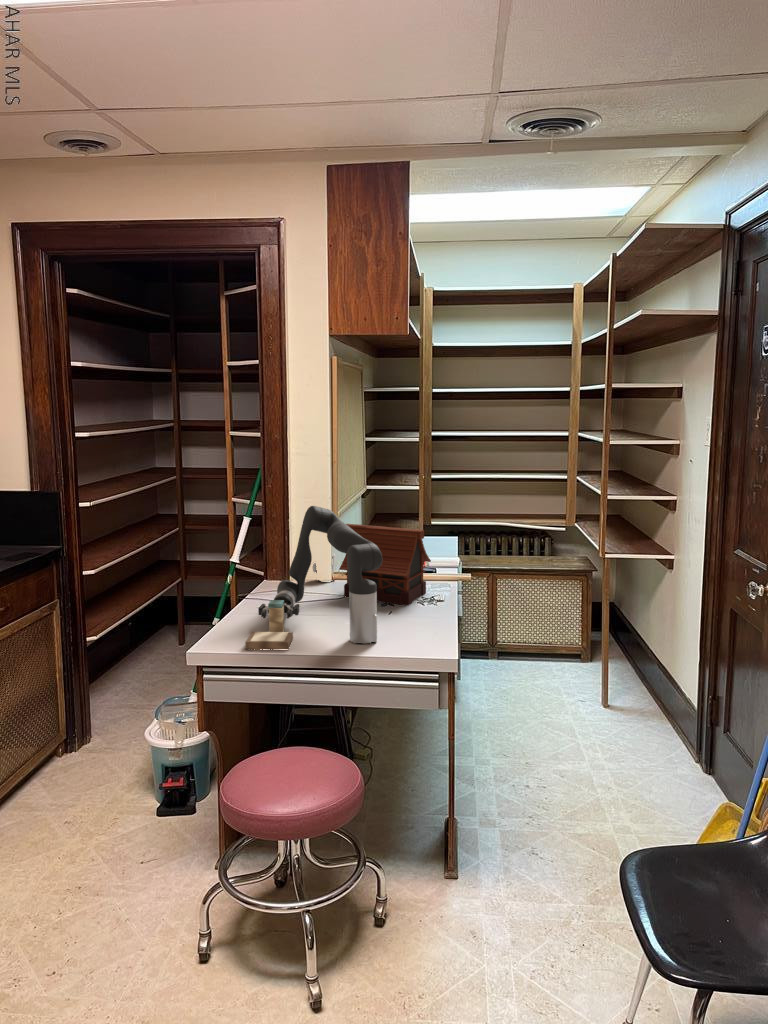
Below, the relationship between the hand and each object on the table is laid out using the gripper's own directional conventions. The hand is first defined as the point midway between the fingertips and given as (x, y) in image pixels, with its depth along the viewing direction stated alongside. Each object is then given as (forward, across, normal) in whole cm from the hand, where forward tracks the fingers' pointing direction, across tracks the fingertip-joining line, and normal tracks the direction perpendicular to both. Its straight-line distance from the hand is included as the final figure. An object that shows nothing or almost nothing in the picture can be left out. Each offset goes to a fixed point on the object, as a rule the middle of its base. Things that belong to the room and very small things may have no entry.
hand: (275, 615), depth 253 cm
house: (-51, +36, +7) cm, 63 cm away
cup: (-74, +9, +7) cm, 75 cm away
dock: (+12, 0, +6) cm, 13 cm away
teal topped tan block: (-2, 0, +6) cm, 7 cm away
